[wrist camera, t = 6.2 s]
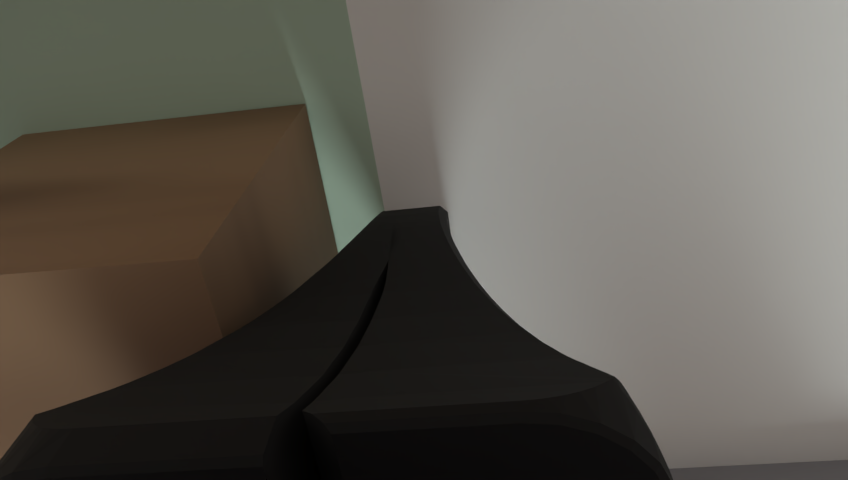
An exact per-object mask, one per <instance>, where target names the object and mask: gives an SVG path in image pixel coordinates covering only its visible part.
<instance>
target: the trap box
mask: <svg viewBox="0 0 848 480" xmlns="http://www.w3.org/2000/svg"><path fill="white" fill-rule="evenodd" d="M298 104H306V109H307V114H308V118H309V123H310V127H311V132H312V136H313V141H314V146H315V150H316V155H317V159H318V164H319V168H320V173H321V178H322V182H323V187H324V191H325V196H326V200H327V205H328V210H329V214H330V219H331V223H332V228H333V232H334V237H335V242H336V246H337V251H338V253H339V252H340V251H341V250H342V249H343V248H344V247H345V246H346V245H347V244H348V243H349V242H350V241H351V240H352V239H353V238H354V237H356V236H357V235H358V234H359V233H360V232H361V231H362V230H363V229H364V228H365V227H366V226H367V225H368V224H369V223H370V222H371V221H372V220H373V219H374V218H375V217H376V216H377V215H378V214H380V213H381V212H382V211H390V210H401V209H411V208H421V207H432V206H441V207H442V208H444V209H445V210H446V211H447V212H448V217H449V225H450V232H451V236H452V239H453V241H454V243H455V245H456V247H457V249H458V251H459V252H460V254H461V256H462V258H463V260H464V261H465V263H466V265H467V266H468V268H469V269H470V271H471V272H472V274H473V275H474V276H475V278H476V279H477V280H478V282H479V283H480V285H481V286H482V287H483V288H484V290H485V291H486V292H487V293H488V294H489V296H490V297H491V298H492V299H493V300H494V301H495V302H496V303H497V304H498V305H499V306H500V307H501V308H502V309H503V311H505V312H506V313H507V314H508V315H509V316H510V317H511V318H512V319H513V320H514V321H515V322H516V323H518V324H519V325H520V326H521V327H522V328H524V329H525V330H527V331H528V332H529V333H531V334H532V335H533V336H535V337H536V338H537V339H539V340H540V341H542V342H543V343H545V344H547V345H548V346H550V347H552V348H554V349H555V350H557V351H559V352H561V353H562V354H564V355H566V356H568V357H570V358H572V359H575V360H577V361H579V362H582V363H584V364H586V365H589V366H591V367H594V368H596V369H598V370H601V371H603V372H605V373H608V374H610V375H612V376H615V377H616V378H617V379H618V380H619V381H620V382H621V383H622V385H623V386H624V388H625V389H626V391H627V392H628V394H629V395H630V397H631V398H632V400H633V402H634V403H635V405H636V406H637V408H638V410H639V411H640V413H641V415H642V416H643V418H644V420H645V422H646V423H647V425H648V427H649V429H650V430H651V432H652V434H653V436H654V438H655V440H656V442H657V444H658V446H659V448H660V450H661V452H662V455H663V457H664V459H665V461H666V463H667V466H668V468H669V470H670V473H671V475H672V478H673V480H848V0H0V149H1V148H2V147H4V146H6V145H7V144H9V143H10V142H12V141H13V140H15V139H17V138H18V137H20V136H21V135H23V134H32V133H41V132H50V131H59V130H68V129H77V128H86V127H96V126H105V125H114V124H123V123H132V122H142V121H151V120H160V119H169V118H178V117H188V116H197V115H206V114H215V113H224V112H234V111H243V110H252V109H261V108H270V107H280V106H289V105H298Z"/></svg>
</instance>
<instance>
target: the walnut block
mask: <svg viewBox="0 0 848 480" xmlns="http://www.w3.org/2000/svg"><path fill="white" fill-rule="evenodd" d="M337 254H338V251H337V246H336V242H335V237H334V232H333V228H332V223H331V219H330V214H329V210H328V205H327V200H326V196H325V191H324V187H323V182H322V178H321V173H320V168H319V164H318V159H317V155H316V150H315V146H314V141H313V136H312V132H311V127H310V123H309V118H308V114H307V109H306V104H298V105H289V106H280V107H270V108H261V109H252V110H243V111H234V112H224V113H215V114H206V115H197V116H188V117H178V118H169V119H160V120H151V121H142V122H132V123H123V124H114V125H105V126H96V127H86V128H77V129H68V130H59V131H50V132H41V133H32V134H23V135H21V136H20V137H18V138H17V139H15V140H13V141H12V142H10V143H9V144H7V145H6V146H4V147H2V148H1V149H0V459H1V458H2V457H3V455H4V454H5V453H6V451H7V450H8V449H9V448H10V446H11V445H12V444H13V442H14V441H15V440H16V438H17V437H18V436H19V435H20V433H21V432H22V431H23V429H24V428H25V427H26V425H27V424H28V423H29V422H30V420H31V419H32V418H33V416H34V415H35V414H38V413H41V412H45V411H48V410H51V409H55V408H57V407H60V406H63V405H66V404H69V403H72V402H75V401H78V400H81V399H84V398H87V397H90V396H93V395H96V394H99V393H102V392H105V391H108V390H110V389H113V388H116V387H118V386H121V385H124V384H126V383H129V382H131V381H134V380H136V379H139V378H141V377H143V376H146V375H148V374H150V373H153V372H155V371H158V370H160V369H162V368H164V367H167V366H169V365H171V364H173V363H175V362H177V361H180V360H182V359H184V358H186V357H188V356H190V355H192V354H194V353H196V352H198V351H200V350H202V349H203V348H205V347H207V346H209V345H211V344H212V343H214V342H216V341H218V340H220V339H222V338H223V337H225V336H227V335H229V334H231V333H233V332H234V331H236V330H238V329H240V328H241V327H243V326H245V325H246V324H248V323H250V322H251V321H253V320H254V319H256V318H257V317H259V316H260V315H262V314H263V313H265V312H266V311H268V310H269V309H271V308H272V307H274V306H275V305H276V304H278V303H279V302H281V301H282V300H283V299H285V298H286V297H287V296H289V295H290V294H291V293H293V292H294V291H295V290H296V289H297V288H299V287H300V286H301V285H302V284H303V283H305V282H306V281H307V280H308V279H309V278H310V277H312V276H313V275H314V274H315V273H316V272H318V271H319V270H320V269H321V268H322V267H324V266H325V265H326V264H327V263H328V262H329V261H330V260H331V259H333V258H334V257H335V256H336V255H337Z"/></svg>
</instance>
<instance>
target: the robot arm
mask: <svg viewBox="0 0 848 480" xmlns="http://www.w3.org/2000/svg"><path fill="white" fill-rule="evenodd" d="M0 480H673V478H672V475H671V473H670V470H669V468H668V466H667V463H666V461H665V459H664V457H663V455H662V452H661V450H660V448H659V446H658V444H657V442H656V440H655V438H654V436H653V434H652V432H651V430H650V429H649V427H648V425H647V423H646V422H645V420H644V418H643V416H642V415H641V413H640V411H639V410H638V408H637V406H636V405H635V403H634V402H633V400H632V398H631V397H630V395H629V394H628V392H627V391H626V389H625V388H624V386H623V385H622V383H621V382H620V381H619V380H618V379H617V378H616V377H615V376H612V375H610V374H608V373H605V372H603V371H601V370H598V369H596V368H594V367H591V366H589V365H586V364H584V363H582V362H579V361H577V360H575V359H572V358H570V357H568V356H566V355H564V354H562V353H561V352H559V351H557V350H555V349H554V348H552V347H550V346H548V345H547V344H545V343H543V342H542V341H540V340H539V339H537V338H536V337H535V336H533V335H532V334H531V333H529V332H528V331H527V330H525V329H524V328H522V327H521V326H520V325H519V324H518V323H516V322H515V321H514V320H513V319H512V318H511V317H510V316H509V315H508V314H507V313H506V312H505V311H503V309H502V308H501V307H500V306H499V305H498V304H497V303H496V302H495V301H494V300H493V299H492V298H491V297H490V296H489V294H488V293H487V292H486V291H485V290H484V288H483V287H482V286H481V285H480V283H479V282H478V280H477V279H476V278H475V276H474V275H473V274H472V272H471V271H470V269H469V268H468V266H467V265H466V263H465V261H464V260H463V258H462V256H461V254H460V252H459V251H458V249H457V247H456V245H455V243H454V241H453V239H452V236H451V232H450V225H449V217H448V212H447V211H446V210H445V209H444V208H442V207H441V206H432V207H421V208H411V209H401V210H390V211H382V212H381V213H380V214H378V215H377V216H376V217H375V218H374V219H373V220H372V221H371V222H370V223H369V224H368V225H367V226H366V227H365V228H364V229H363V230H362V231H361V232H360V233H359V234H358V235H357V236H356V237H354V238H353V239H352V240H351V241H350V242H349V243H348V244H347V245H346V246H345V247H344V248H343V249H342V250H341V251H340V252H339V253H338V254H337V255H336V256H335V257H334V258H333V259H331V260H330V261H329V262H328V263H327V264H326V265H325V266H324V267H322V268H321V269H320V270H319V271H318V272H316V273H315V274H314V275H313V276H312V277H310V278H309V279H308V280H307V281H306V282H305V283H303V284H302V285H301V286H300V287H299V288H297V289H296V290H295V291H294V292H293V293H291V294H290V295H289V296H287V297H286V298H285V299H283V300H282V301H281V302H279V303H278V304H276V305H275V306H274V307H272V308H271V309H269V310H268V311H266V312H265V313H263V314H262V315H260V316H259V317H257V318H256V319H254V320H253V321H251V322H250V323H248V324H246V325H245V326H243V327H241V328H240V329H238V330H236V331H234V332H233V333H231V334H229V335H227V336H225V337H223V338H222V339H220V340H218V341H216V342H214V343H212V344H211V345H209V346H207V347H205V348H203V349H202V350H200V351H198V352H196V353H194V354H192V355H190V356H188V357H186V358H184V359H182V360H180V361H177V362H175V363H173V364H171V365H169V366H167V367H164V368H162V369H160V370H158V371H155V372H153V373H150V374H148V375H146V376H143V377H141V378H139V379H136V380H134V381H131V382H129V383H126V384H124V385H121V386H118V387H116V388H113V389H110V390H108V391H105V392H102V393H99V394H96V395H93V396H90V397H87V398H84V399H81V400H78V401H75V402H72V403H69V404H66V405H63V406H60V407H57V408H55V409H51V410H48V411H45V412H41V413H38V414H35V415H34V416H33V418H32V419H31V420H30V422H29V423H28V424H27V425H26V427H25V428H24V429H23V431H22V432H21V433H20V435H19V436H18V437H17V438H16V440H15V441H14V442H13V444H12V445H11V446H10V448H9V449H8V450H7V451H6V453H5V454H4V455H3V457H2V458H1V459H0Z"/></svg>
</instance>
